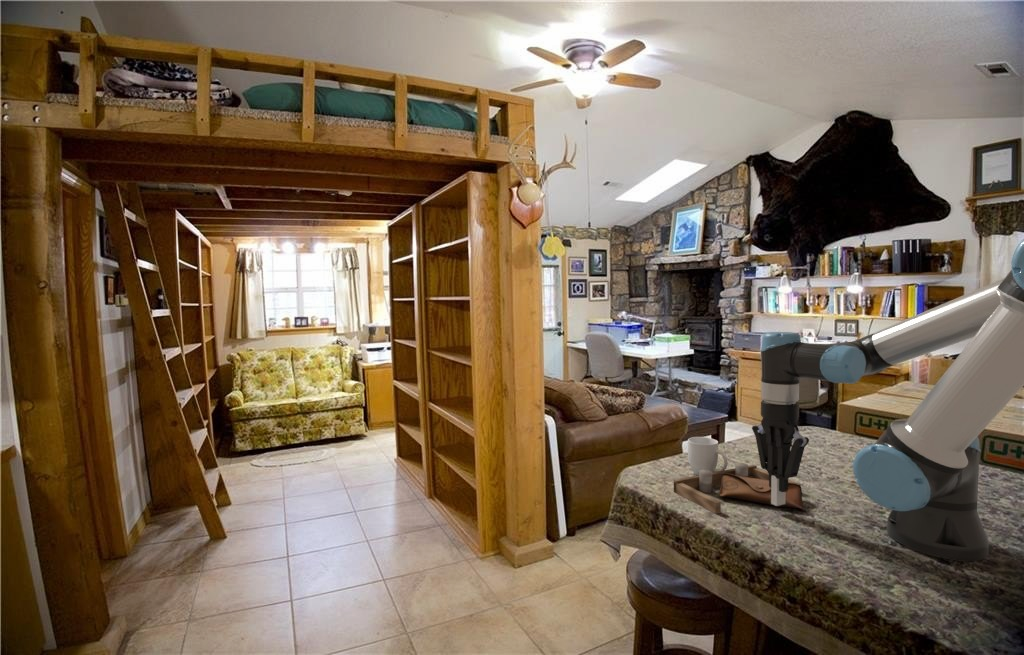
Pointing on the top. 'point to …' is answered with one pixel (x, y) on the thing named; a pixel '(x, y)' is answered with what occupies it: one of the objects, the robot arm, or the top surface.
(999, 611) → the top surface
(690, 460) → the mug
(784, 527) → the top surface
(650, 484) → the top surface
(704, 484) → the rail board
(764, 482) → the sunglasses case
